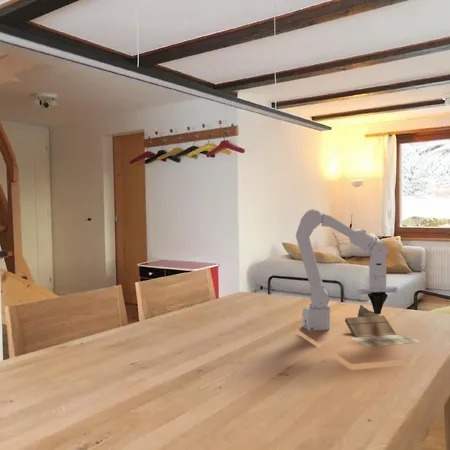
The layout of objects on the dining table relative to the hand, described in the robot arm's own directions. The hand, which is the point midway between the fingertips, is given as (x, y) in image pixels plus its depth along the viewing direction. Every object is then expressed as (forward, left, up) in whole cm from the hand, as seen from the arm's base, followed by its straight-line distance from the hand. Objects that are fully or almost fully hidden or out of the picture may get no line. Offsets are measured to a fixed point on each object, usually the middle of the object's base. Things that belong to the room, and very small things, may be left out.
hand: (377, 313), depth 174 cm
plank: (-4, -2, -5) cm, 6 cm away
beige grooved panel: (-4, -12, -7) cm, 14 cm away
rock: (+4, +11, -8) cm, 14 cm away
